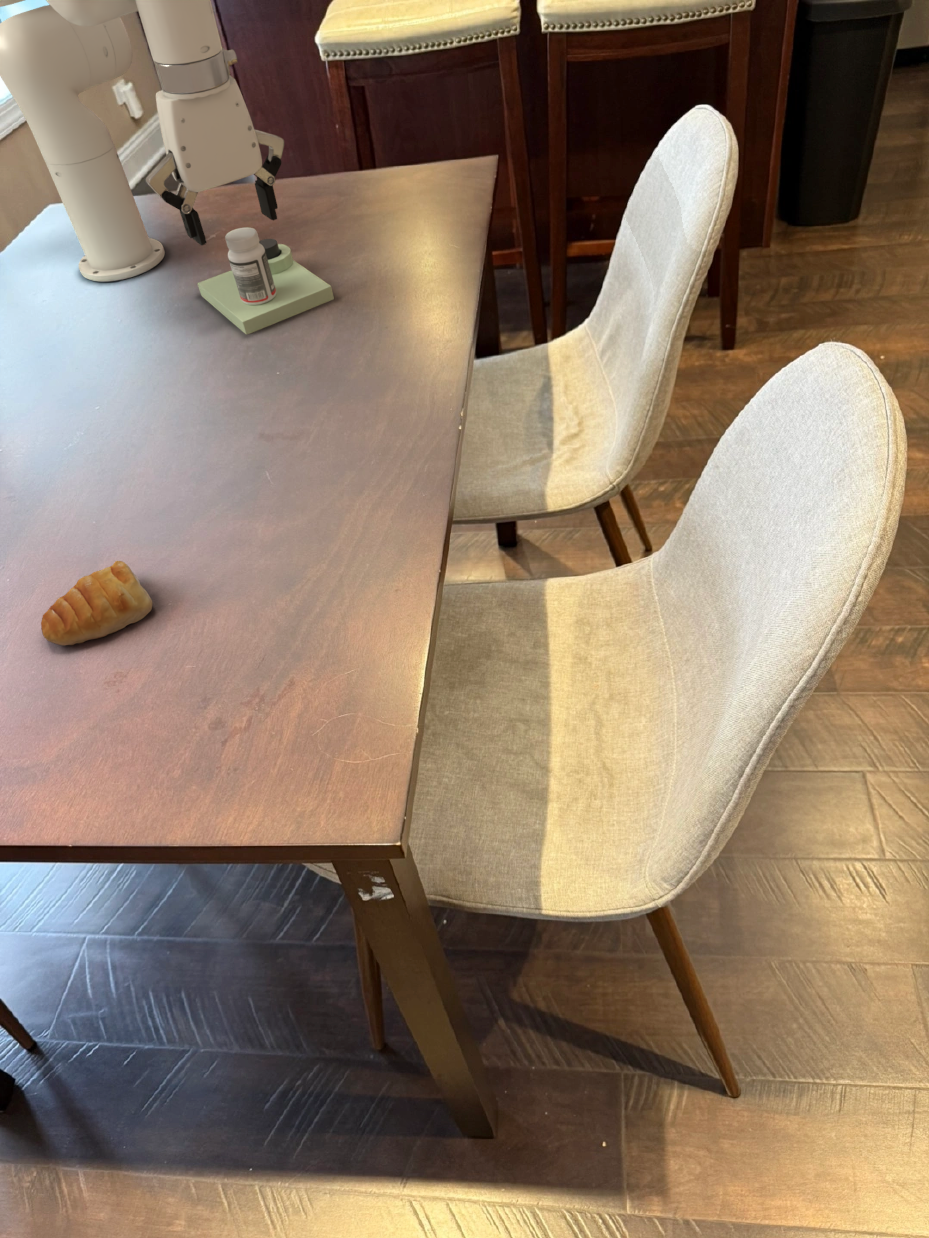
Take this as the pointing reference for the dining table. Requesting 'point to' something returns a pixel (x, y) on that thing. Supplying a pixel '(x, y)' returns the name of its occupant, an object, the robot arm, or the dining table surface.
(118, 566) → the pastry
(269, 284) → the pill bottle
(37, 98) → the robot arm
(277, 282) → the green button base
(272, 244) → the button
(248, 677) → the dining table surface
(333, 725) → the dining table surface
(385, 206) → the dining table surface
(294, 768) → the dining table surface
